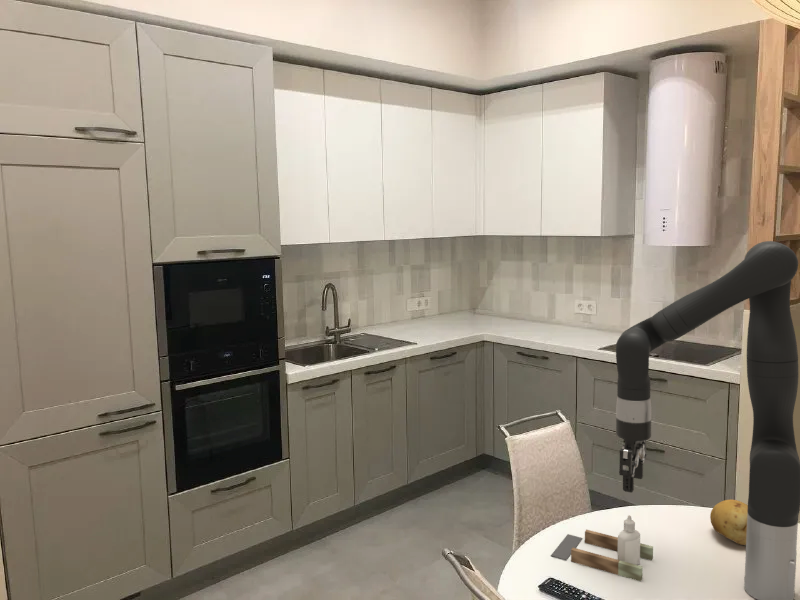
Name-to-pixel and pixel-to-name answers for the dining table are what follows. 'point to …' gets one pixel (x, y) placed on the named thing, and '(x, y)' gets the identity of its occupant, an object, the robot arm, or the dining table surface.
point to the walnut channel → (607, 562)
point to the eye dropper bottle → (629, 543)
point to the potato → (730, 520)
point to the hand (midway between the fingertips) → (633, 484)
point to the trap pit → (566, 547)
